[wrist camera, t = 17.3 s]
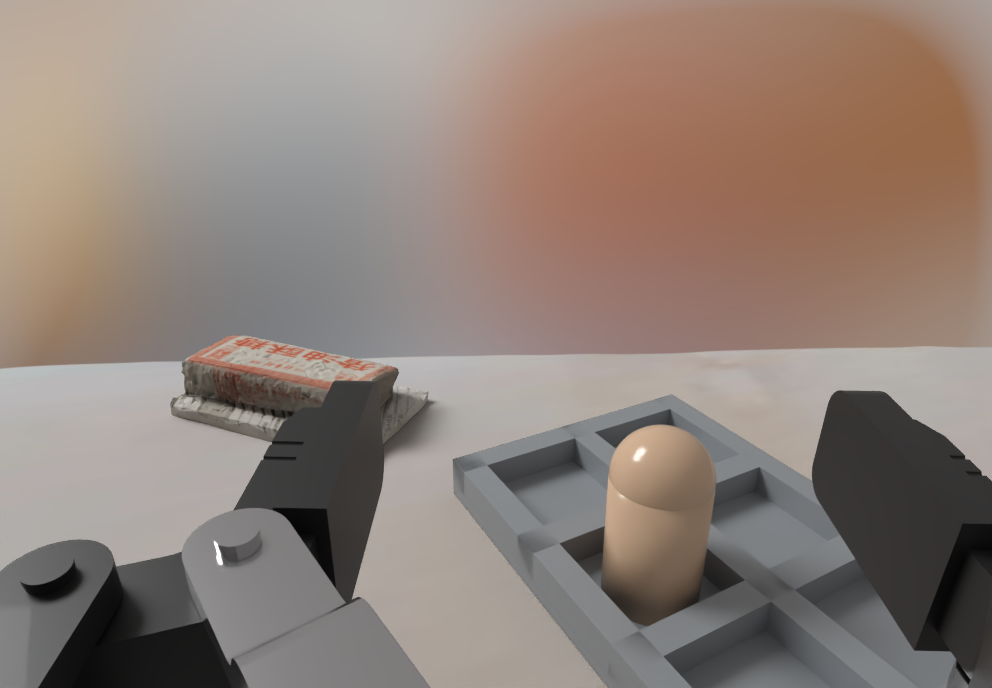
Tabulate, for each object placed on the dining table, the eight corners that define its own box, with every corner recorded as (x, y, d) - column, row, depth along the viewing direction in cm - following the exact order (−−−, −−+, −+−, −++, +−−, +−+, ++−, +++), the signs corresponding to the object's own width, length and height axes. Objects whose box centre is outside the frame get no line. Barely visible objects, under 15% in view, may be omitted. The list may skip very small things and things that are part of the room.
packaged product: (154, 365, 52) (245, 319, 60) (166, 420, 54) (253, 368, 62) (359, 410, 46) (428, 351, 54) (364, 471, 48) (430, 405, 56)
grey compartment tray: (453, 493, 45) (452, 459, 44) (668, 424, 52) (671, 394, 51) (779, 903, 24) (793, 857, 22) (1056, 687, 31) (1076, 645, 30)
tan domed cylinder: (581, 575, 37) (590, 422, 33) (654, 544, 39) (670, 396, 35) (643, 642, 33) (661, 476, 29) (720, 602, 35) (747, 443, 31)
